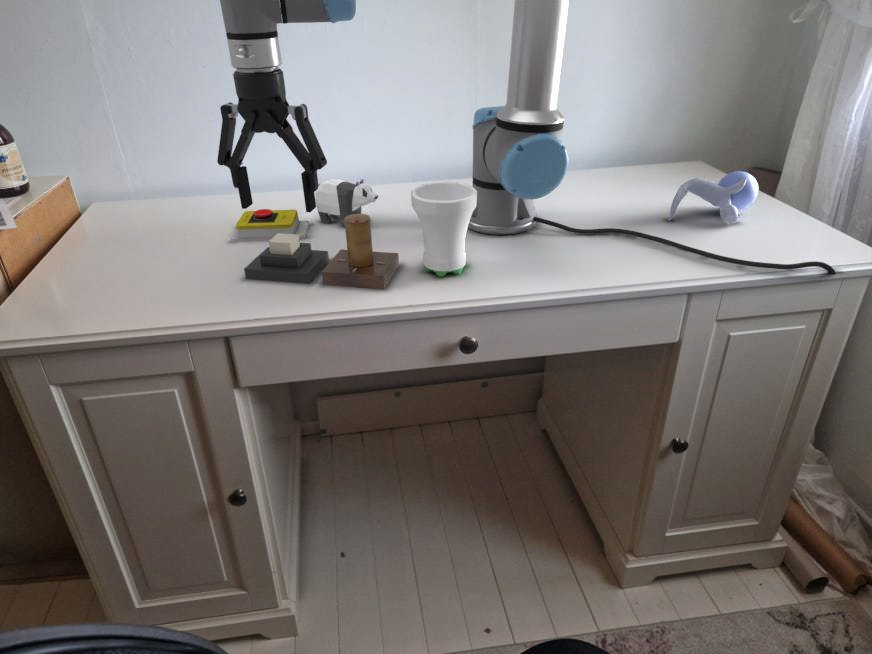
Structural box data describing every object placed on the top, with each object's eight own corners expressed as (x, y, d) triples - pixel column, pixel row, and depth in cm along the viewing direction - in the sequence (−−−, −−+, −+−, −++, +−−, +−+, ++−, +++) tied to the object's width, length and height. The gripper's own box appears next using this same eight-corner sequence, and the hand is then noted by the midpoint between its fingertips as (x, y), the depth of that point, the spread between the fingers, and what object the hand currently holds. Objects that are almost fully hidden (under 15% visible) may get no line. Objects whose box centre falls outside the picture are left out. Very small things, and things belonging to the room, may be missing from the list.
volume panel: (399, 265, 115) (398, 252, 113) (384, 289, 107) (383, 275, 105) (341, 261, 117) (340, 248, 115) (323, 285, 109) (321, 270, 107)
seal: (761, 232, 133) (678, 240, 128) (733, 192, 140) (653, 198, 135) (785, 202, 126) (699, 209, 121) (754, 161, 133) (671, 166, 128)
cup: (480, 258, 117) (482, 182, 109) (470, 284, 108) (471, 203, 100) (421, 254, 119) (419, 179, 111) (406, 279, 110) (403, 199, 102)
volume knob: (349, 257, 112) (344, 212, 108) (374, 256, 112) (370, 211, 108) (347, 267, 108) (343, 221, 104) (373, 266, 108) (369, 220, 104)
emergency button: (236, 205, 132) (307, 203, 132) (240, 225, 134) (310, 223, 134) (225, 220, 124) (301, 218, 124) (229, 241, 126) (304, 239, 126)
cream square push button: (300, 247, 114) (298, 234, 112) (291, 256, 110) (289, 242, 109) (279, 246, 114) (277, 233, 113) (270, 255, 111) (268, 241, 110)
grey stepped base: (329, 260, 117) (326, 240, 115) (309, 284, 109) (306, 262, 107) (269, 256, 119) (265, 236, 117) (245, 279, 111) (241, 258, 109)
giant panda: (314, 221, 135) (309, 177, 130) (329, 213, 139) (324, 170, 134) (371, 232, 129) (368, 186, 124) (386, 223, 133) (383, 178, 128)
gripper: (175, 71, 95) (205, 211, 107) (321, 73, 91) (336, 219, 103) (200, 64, 101) (226, 197, 113) (338, 65, 97) (350, 204, 109)
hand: (279, 207), depth 108 cm, fingers open, 11 cm apart
